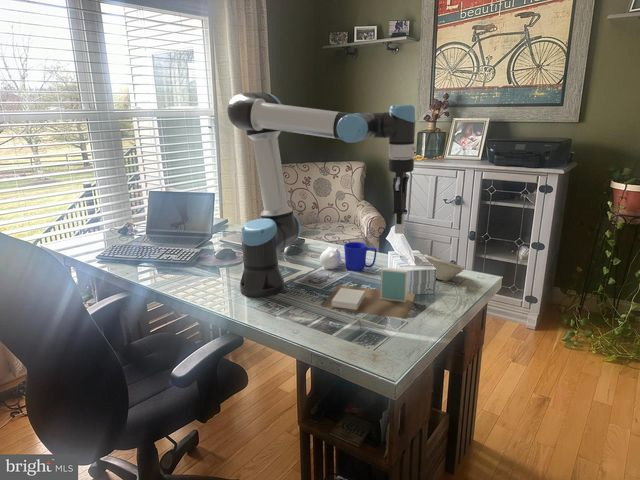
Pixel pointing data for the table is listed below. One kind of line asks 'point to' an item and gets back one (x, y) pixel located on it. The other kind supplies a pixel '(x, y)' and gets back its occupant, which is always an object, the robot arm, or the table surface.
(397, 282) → the tile
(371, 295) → the board
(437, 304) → the table surface
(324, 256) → the crumpled paper ball
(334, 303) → the tile
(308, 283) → the table surface
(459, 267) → the bowl
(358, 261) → the mug
